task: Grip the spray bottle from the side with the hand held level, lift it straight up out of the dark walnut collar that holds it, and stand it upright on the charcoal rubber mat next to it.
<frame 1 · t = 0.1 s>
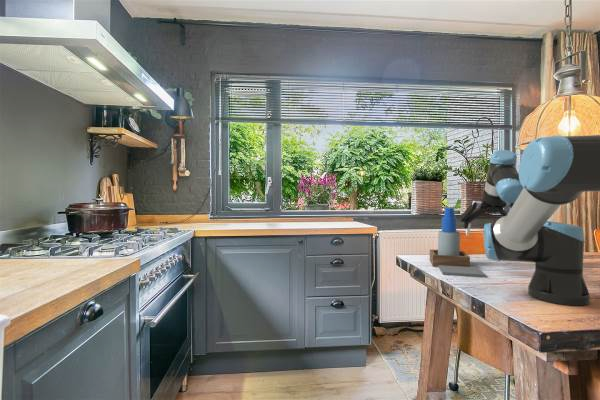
hand: (485, 234, 137), 15 cm above the table, tool tilted 35°, fingers open, 13 cm apart
walnut collar: (448, 264, 153), on the table
rubber mat: (460, 272, 138), on the table
spray bottle: (448, 264, 153), resting in walnut collar
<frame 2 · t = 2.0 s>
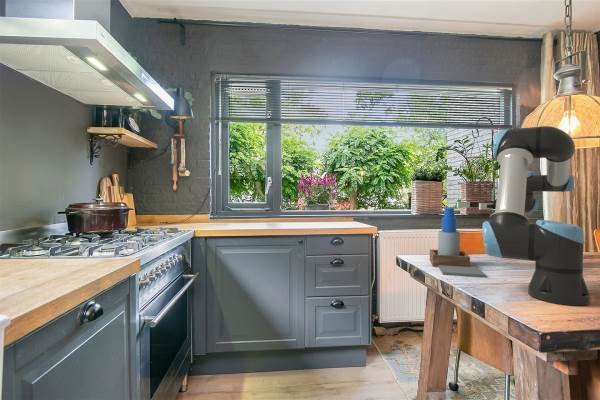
hand: (468, 205, 155), 26 cm above the table, tool horizontal, fingers open, 13 cm apart
nothing on the table moved.
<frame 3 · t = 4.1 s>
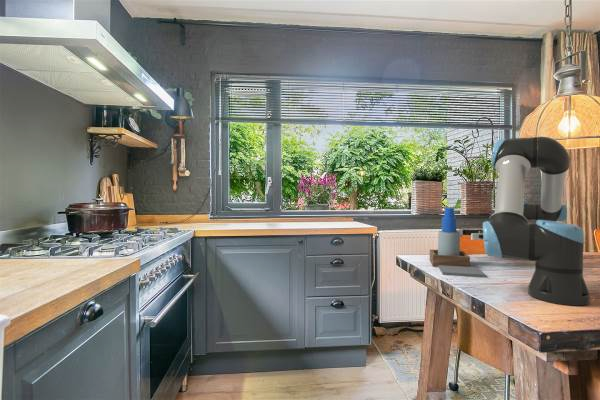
hand: (460, 234, 155), 13 cm above the table, tool horizontal, fingers open, 13 cm apart
nothing on the table moved.
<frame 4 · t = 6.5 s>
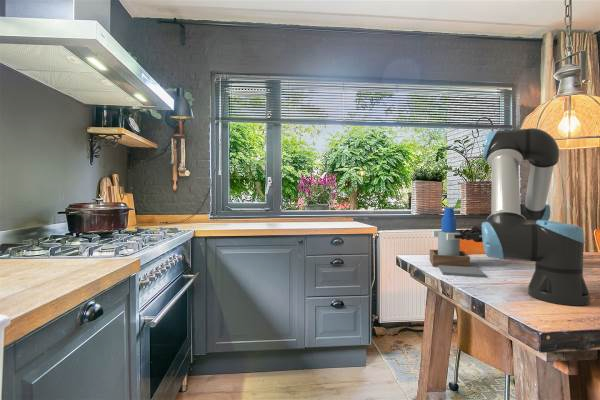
hand: (440, 235, 151), 13 cm above the table, tool horizontal, fingers closed on spray bottle, 9 cm apart
spray bottle: (448, 264, 153), resting in walnut collar, touching gripper
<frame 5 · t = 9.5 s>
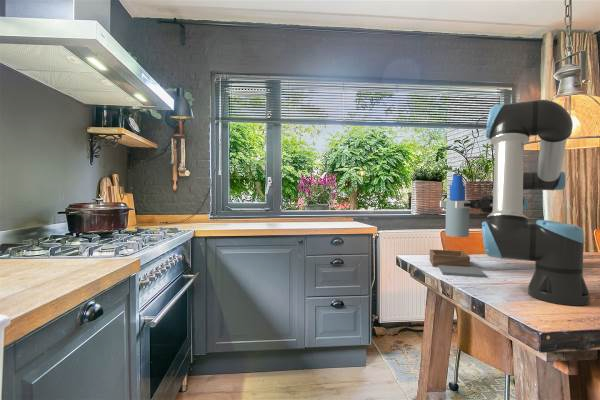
hand: (448, 204, 141), 27 cm above the table, tool horizontal, fingers closed on spray bottle, 9 cm apart
spray bottle: (456, 236, 143), point 14 cm above the table, touching gripper
when the fingers open (15 cm above the table, at t = 12.6 s): spray bottle drops 1 cm, resting on rubber mat.
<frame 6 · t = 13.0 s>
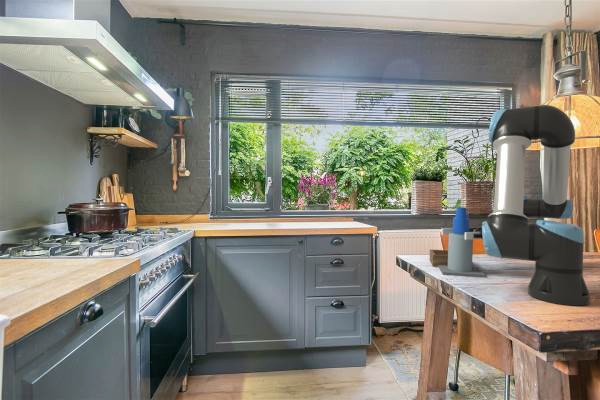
hand: (453, 233, 137), 15 cm above the table, tool horizontal, fingers open, 13 cm apart
spray bottle: (459, 269, 139), point 1 cm above the table, touching rubber mat
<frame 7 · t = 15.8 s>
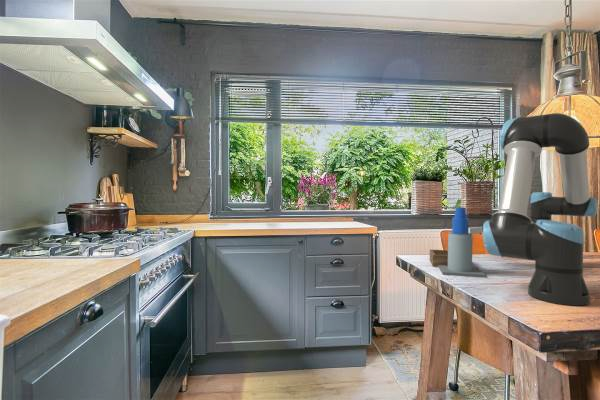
hand: (481, 233, 140), 15 cm above the table, tool horizontal, fingers open, 13 cm apart
nothing on the table moved.
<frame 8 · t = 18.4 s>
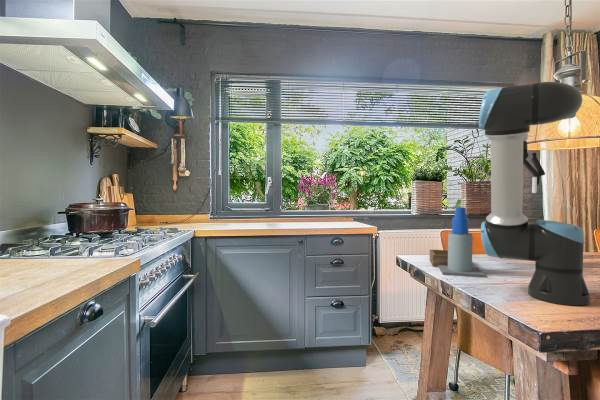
hand: (515, 193, 144), 32 cm above the table, tool pointing down, fingers open, 13 cm apart
nothing on the table moved.
at the end: spray bottle inside the target area on the rubber mat (0.4 cm from its centre), point 0.8 cm above the rubber mat's base; spray bottle tilted 0°; the gripper is holding nothing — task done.
